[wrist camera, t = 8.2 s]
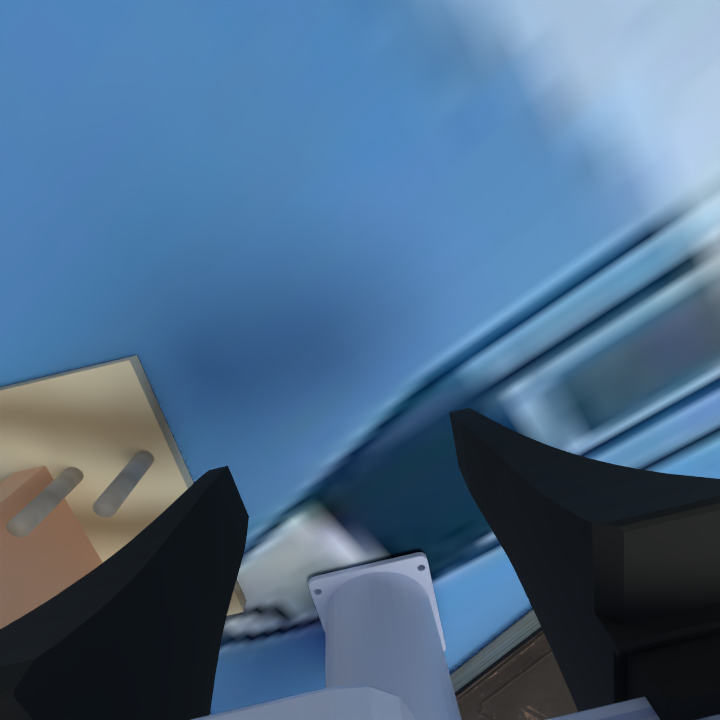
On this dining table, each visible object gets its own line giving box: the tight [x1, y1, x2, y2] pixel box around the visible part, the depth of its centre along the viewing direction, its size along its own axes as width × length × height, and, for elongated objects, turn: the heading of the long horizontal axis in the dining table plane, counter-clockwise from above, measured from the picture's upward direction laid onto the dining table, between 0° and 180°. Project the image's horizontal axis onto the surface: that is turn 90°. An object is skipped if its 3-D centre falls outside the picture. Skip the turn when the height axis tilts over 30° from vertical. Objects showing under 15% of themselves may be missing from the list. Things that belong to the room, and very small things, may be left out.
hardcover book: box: [450, 610, 578, 720], centre depth 32 cm, size 16×23×2 cm
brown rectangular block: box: [0, 466, 103, 629], centre depth 19 cm, size 9×2×7 cm, turn 13°
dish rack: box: [0, 355, 246, 616], centre depth 21 cm, size 18×15×5 cm
